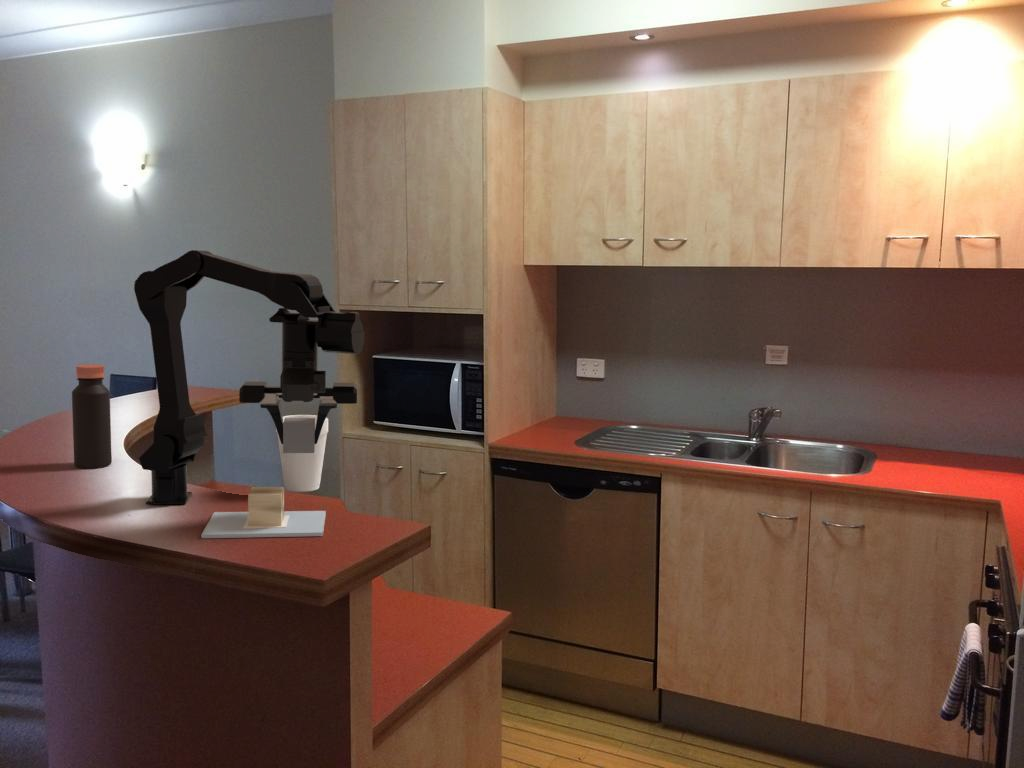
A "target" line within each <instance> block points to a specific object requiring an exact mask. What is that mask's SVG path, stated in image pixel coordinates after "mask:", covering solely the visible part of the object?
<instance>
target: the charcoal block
mask: <svg viewBox="0 0 1024 768" xmlns="http://www.w3.org/2000/svg"><path fill="white" fill-rule="evenodd" d="M314 451H315V418H285V419H284V422H283V453H314Z"/></svg>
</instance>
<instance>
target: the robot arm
mask: <svg viewBox="0 0 1024 768" xmlns="http://www.w3.org/2000/svg"><path fill="white" fill-rule="evenodd" d="M204 278H209V279H211V280H212V279H213V280H215V281H218V282H221V283H225V284H228V285H232V286H236V287H239V288H242V289H246V290H249V291H252V292H255V293H258V294H260V295H262V296H264V297H265V298H267V299H268V300H269V301H271V302H272V303H274V304H276V305H277V306H280V307H279V308H278V310H277V311H276V312H275V313H274V314H273V315H272V316H270V317H269V319H268V320H269V322H271V323H279V324H280V323H281V373H280V375H279V376H280V385H279V386H268V382H267V381H245V382H244V383H243V384H241V386H240V387H239V391H238V392H239V393H238V394H239V395H238V397H239V398H238V399H239V403H241V404H259V405H260V406H259V407H260V408H261V409H266V410H267V411H268V413H269V414H270V417H271V418H272V420H273V423H274V425H275V430H276V429H277V432H278V435H279V438H280V441H281V444H283V409H282V401H283V402H287V403H292V402H304V403H310V402H312V401H313V400H314V399H319V402H318V403H319V404H318V408H317V415H316V416H317V421H316V428H315V444H317V442H318V439H319V436H320V432H321V429H322V426H323V423H324V421H325V419H326V418H328V417H327V416H328V415H329V413H330V411H331V410H332V409H337V408H338V404H340V405H341V404H342V405H343V404H344V405H346V404H350V405H353V404H357V403H358V386H357V385H356V384H355V383H354V382H333V383H332V387H330V386H329V387H327V386H326V382H327V381H326V379H327V378H326V370H318V352H319V351H318V350H319V349H318V348H321V350H322V352H324V353H328V354H332V353H333V354H346V355H359V354H361V352H362V350H363V348H364V345H365V339H366V338H365V335H366V332H365V331H364V325H363V323H362V321H361V319H360V315H361V314H360V313H359V311H358V312H357V311H351V312H349V311H348V312H336V310H335V309H334V307H333V306H332V304H331V303H330V301H329V299H328V298H327V297H326V295H325V293H324V289H323V286H322V283H321V281H320V279H319V278H318V277H317V276H315V275H313V274H307V273H299V272H287V271H273V270H269V269H266V268H262V267H258V266H255V265H252V264H248V263H245V262H242V261H237V260H235V259H231V258H229V257H224V256H220V255H217V254H214V253H212V252H210V251H208V250H197V249H195V250H194V249H191V250H188V251H187V252H185V253H184V254H182V255H181V256H179V257H178V258H176V259H174V260H172V261H169V262H167V263H165V264H163V265H161V266H159V267H157V268H155V269H154V270H147V271H143V272H142V273H141V274H139V276H137V279H135V280H134V284H133V291H134V294H135V298H136V302H137V304H138V308H139V310H140V312H141V314H142V315H143V316H144V319H145V320H146V321H147V323H148V324H149V330H150V338H151V346H152V355H153V362H154V370H155V377H156V386H157V388H156V389H157V394H158V402H159V404H158V405H159V411H158V413H157V416H156V419H155V421H154V424H153V435H152V436H153V437H152V438H153V439H152V444H151V445H150V446H149V447H148V448H147V449H146V450H145V451H144V452H143V453H142V454H141V456H139V458H138V459H139V462H140V465H141V467H142V470H143V471H144V470H146V471H151V495H150V496H149V497H148V498H147V499H146V502H145V503H146V505H185V504H187V503H188V501H189V500H190V498H191V497H192V496H193V492H192V491H188V474H187V467H188V466H187V464H188V463H192V462H194V461H195V460H196V456H197V455H198V454H197V453H198V452H200V450H201V449H202V447H204V444H205V437H207V436H208V433H207V432H206V427H205V415H204V413H198V414H197V413H196V412H195V411H194V409H193V408H192V406H191V403H190V402H191V401H190V397H189V396H190V395H189V385H188V379H187V378H188V377H187V370H186V361H185V351H184V345H183V343H184V342H183V335H182V327H181V325H182V324H181V322H182V318H183V316H184V313H185V310H186V307H187V298H188V297H187V294H188V292H189V291H190V290H192V289H193V288H194V287H196V286H197V285H199V283H200V282H201V281H202V280H203V279H204ZM289 310H290V311H296V312H290V311H289ZM310 318H311V319H310ZM312 318H313V319H312ZM314 318H315V319H314ZM281 399H282V400H281ZM277 432H276V433H277ZM278 435H277V436H278Z"/></svg>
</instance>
